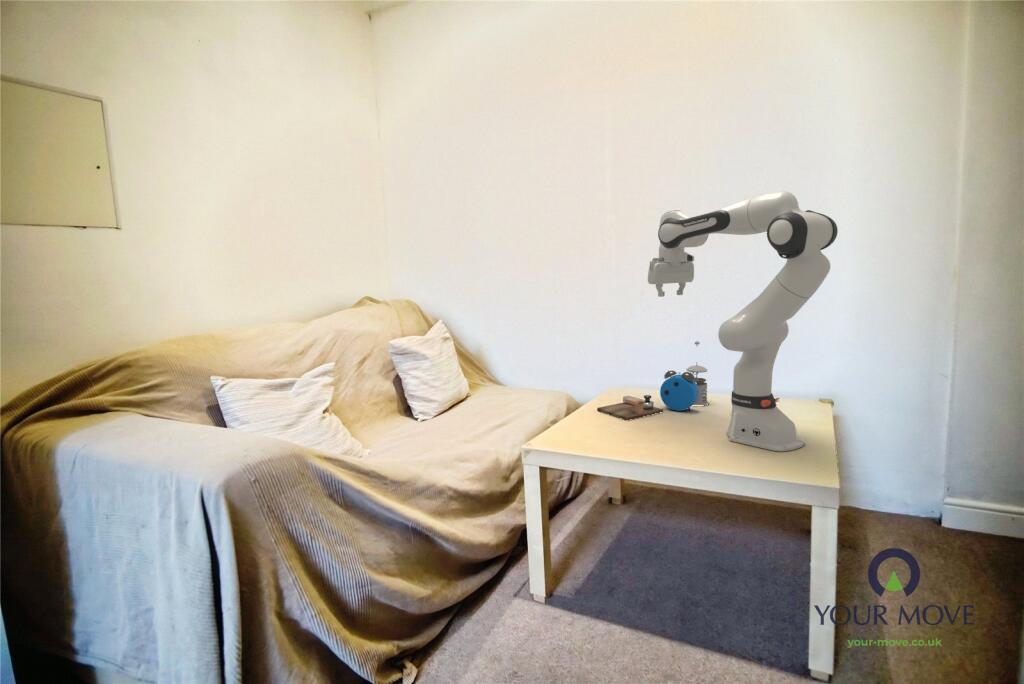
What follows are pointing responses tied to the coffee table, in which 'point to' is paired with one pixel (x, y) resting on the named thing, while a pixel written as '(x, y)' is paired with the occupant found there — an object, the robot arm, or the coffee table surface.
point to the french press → (699, 383)
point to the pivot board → (627, 411)
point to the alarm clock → (679, 391)
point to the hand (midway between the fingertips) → (670, 295)
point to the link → (647, 402)
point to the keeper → (636, 404)
